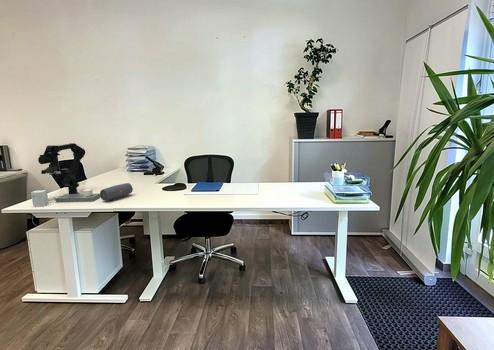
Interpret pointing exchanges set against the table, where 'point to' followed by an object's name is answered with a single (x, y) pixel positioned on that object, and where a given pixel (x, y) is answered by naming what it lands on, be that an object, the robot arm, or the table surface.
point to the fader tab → (87, 192)
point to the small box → (40, 198)
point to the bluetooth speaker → (116, 192)
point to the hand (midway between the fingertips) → (57, 182)
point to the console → (77, 198)
